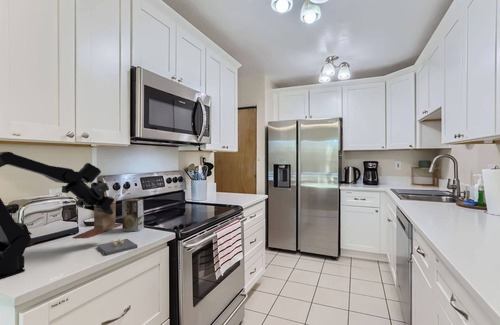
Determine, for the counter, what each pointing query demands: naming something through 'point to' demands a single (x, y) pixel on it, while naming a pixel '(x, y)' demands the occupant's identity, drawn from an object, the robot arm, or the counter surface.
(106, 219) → the tan square box
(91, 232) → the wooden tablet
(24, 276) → the counter surface
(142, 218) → the coffee box
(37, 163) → the robot arm
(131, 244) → the flat gray plate
